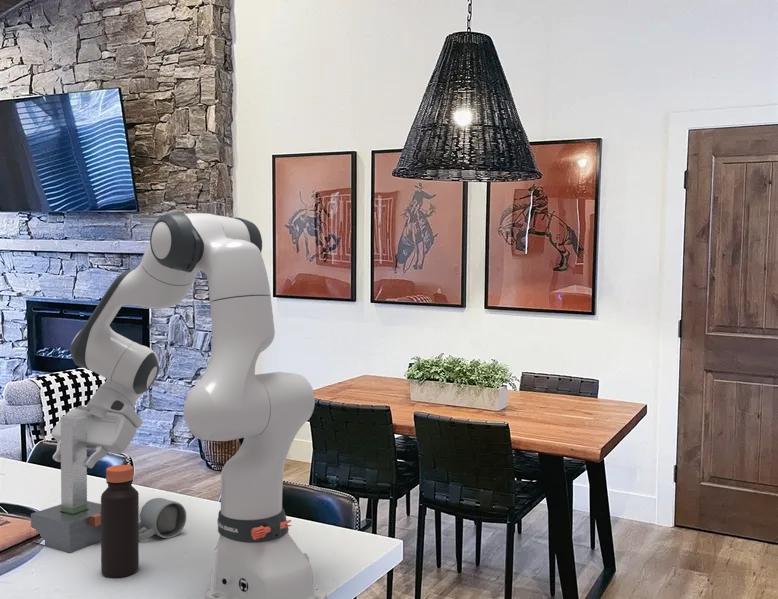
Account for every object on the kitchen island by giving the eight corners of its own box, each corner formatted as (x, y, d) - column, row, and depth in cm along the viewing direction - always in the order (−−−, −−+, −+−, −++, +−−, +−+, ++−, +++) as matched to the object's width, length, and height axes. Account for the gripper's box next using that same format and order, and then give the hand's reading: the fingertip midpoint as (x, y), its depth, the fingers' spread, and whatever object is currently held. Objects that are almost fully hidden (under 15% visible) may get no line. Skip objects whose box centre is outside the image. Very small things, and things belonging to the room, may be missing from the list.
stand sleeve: (121, 536, 167) (121, 508, 166) (75, 554, 156) (74, 524, 156) (78, 525, 173) (78, 497, 173) (31, 541, 163) (30, 512, 162)
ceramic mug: (167, 524, 175) (166, 491, 174) (187, 533, 169) (186, 498, 168) (123, 537, 167) (122, 502, 166) (143, 547, 161) (142, 510, 161)
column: (89, 516, 165) (89, 417, 164) (75, 521, 162) (74, 420, 161) (73, 512, 168) (72, 414, 167) (58, 517, 164) (57, 417, 163)
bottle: (122, 561, 153) (122, 461, 152) (146, 569, 149) (146, 466, 148) (93, 573, 147) (92, 469, 146) (117, 581, 143) (117, 474, 142)
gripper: (67, 396, 175) (29, 448, 167) (132, 406, 165) (95, 461, 157) (84, 413, 179) (48, 464, 171) (148, 423, 169) (113, 478, 161)
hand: (71, 463), depth 164 cm, fingers open, 8 cm apart
